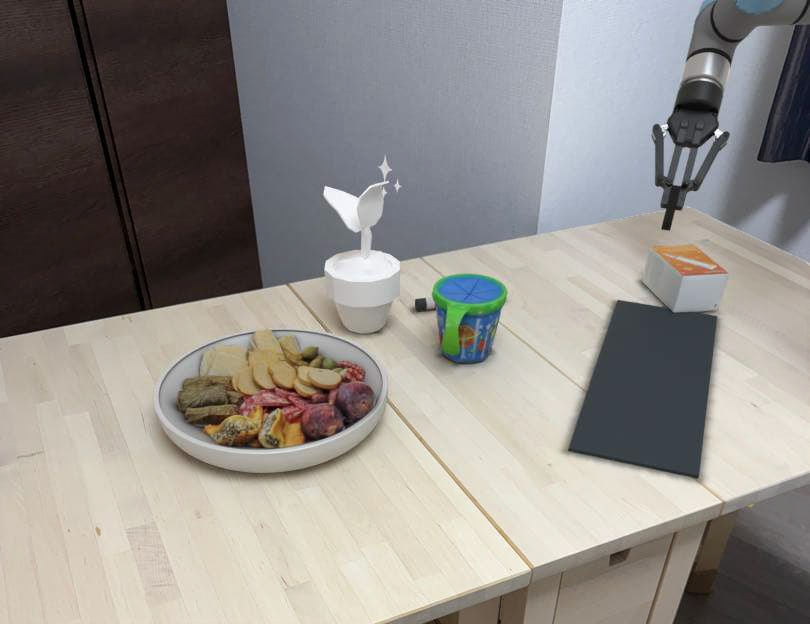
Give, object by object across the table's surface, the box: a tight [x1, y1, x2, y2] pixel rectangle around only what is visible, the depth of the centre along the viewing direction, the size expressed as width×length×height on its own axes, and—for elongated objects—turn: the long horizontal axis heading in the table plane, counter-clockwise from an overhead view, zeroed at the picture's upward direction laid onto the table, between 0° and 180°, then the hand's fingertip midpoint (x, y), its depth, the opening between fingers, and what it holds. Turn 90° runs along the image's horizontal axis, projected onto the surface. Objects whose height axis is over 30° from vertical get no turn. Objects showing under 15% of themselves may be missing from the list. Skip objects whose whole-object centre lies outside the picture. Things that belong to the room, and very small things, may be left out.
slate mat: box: [567, 299, 718, 480], centre depth 107 cm, size 16×44×1 cm, turn 160°
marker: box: [414, 296, 436, 312], centre depth 122 cm, size 15×2×2 cm, turn 104°
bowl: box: [152, 326, 389, 474], centre depth 97 cm, size 30×30×8 cm
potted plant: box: [323, 154, 403, 334], centre depth 109 cm, size 13×12×25 cm
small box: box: [641, 243, 730, 313], centre depth 124 cm, size 8×6×13 cm
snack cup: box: [431, 273, 509, 364], centre depth 109 cm, size 16×10×10 cm
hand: (666, 226), depth 127 cm, fingers closed
